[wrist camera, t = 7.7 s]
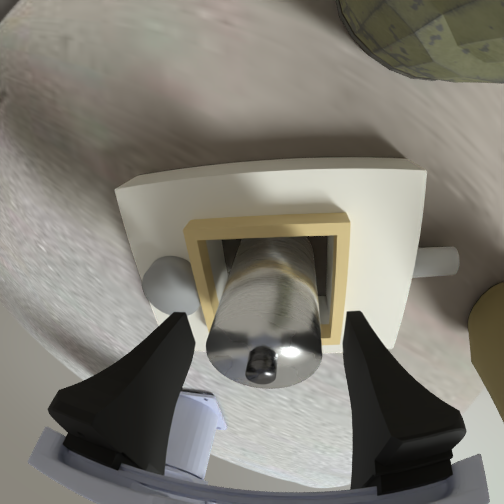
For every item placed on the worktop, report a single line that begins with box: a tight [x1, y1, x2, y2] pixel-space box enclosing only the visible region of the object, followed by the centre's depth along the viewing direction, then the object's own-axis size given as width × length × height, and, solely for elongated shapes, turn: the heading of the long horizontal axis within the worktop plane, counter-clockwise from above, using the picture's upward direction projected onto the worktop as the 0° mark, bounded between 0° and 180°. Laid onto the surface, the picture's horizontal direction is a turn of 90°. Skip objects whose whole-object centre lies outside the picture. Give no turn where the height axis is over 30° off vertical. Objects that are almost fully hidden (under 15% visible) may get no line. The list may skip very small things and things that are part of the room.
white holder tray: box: [114, 157, 459, 354], centre depth 16 cm, size 20×12×4 cm, turn 96°
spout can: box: [206, 236, 322, 389], centre depth 14 cm, size 5×5×9 cm
